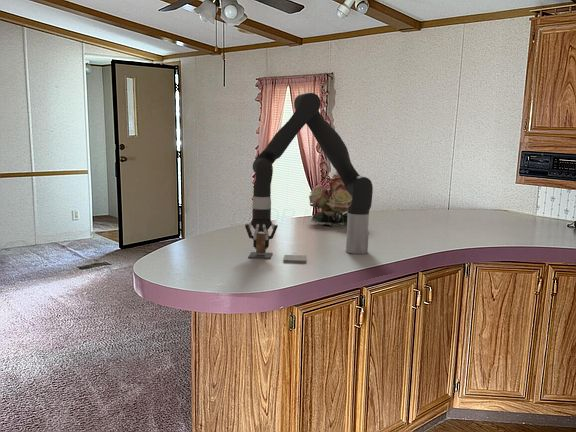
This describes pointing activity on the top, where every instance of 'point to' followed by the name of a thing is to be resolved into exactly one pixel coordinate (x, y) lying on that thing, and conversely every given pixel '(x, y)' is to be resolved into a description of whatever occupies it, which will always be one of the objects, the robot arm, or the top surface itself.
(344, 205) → the rose bouquet
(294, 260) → the tile
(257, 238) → the block
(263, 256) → the mat
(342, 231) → the top surface
